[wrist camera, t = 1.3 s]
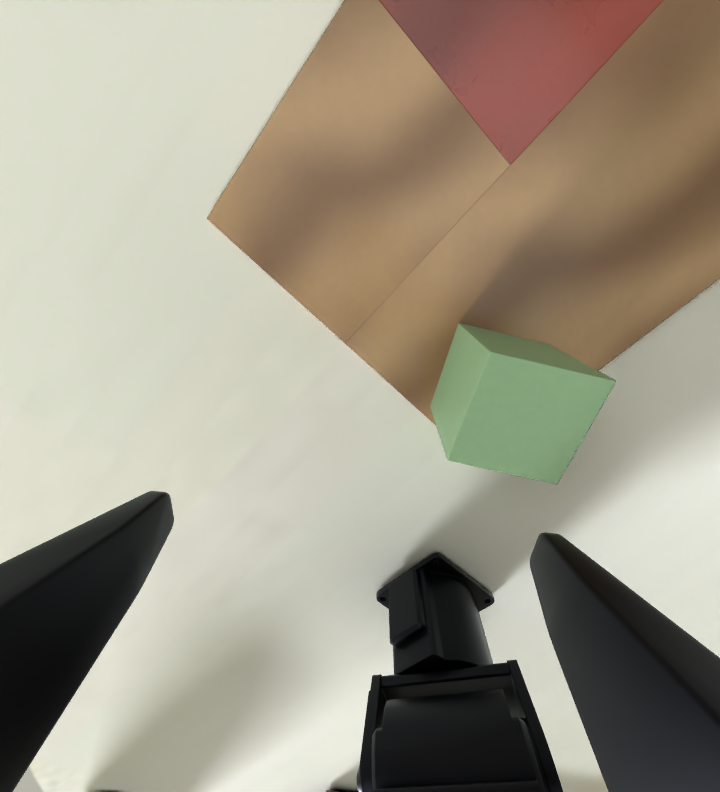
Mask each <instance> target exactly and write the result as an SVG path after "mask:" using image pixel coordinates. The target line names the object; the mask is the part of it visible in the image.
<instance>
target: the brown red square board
mask: <svg viewBox="0 0 720 792" xmlns="http://www.w3.org/2000/svg"><path fill="white" fill-rule="evenodd" d="M207 219H208V220H209V221H210V222H211V223H212V224H214V225H215V226H216V227H217V228H218V229H219V230H220V231H221V232H222V233H223V234H225V235H226V236H227V237H228V238H229V239H230V240H231V241H232V242H233V243H235V244H236V245H237V246H238V247H239V248H240V249H241V250H242V251H243V252H245V253H246V254H247V255H248V256H249V257H250V258H251V259H252V260H253V261H254V262H256V263H257V264H258V265H259V266H260V267H261V268H262V269H263V270H264V271H266V272H267V273H268V274H269V275H270V276H271V277H272V278H273V279H274V280H276V281H277V282H278V283H279V284H280V285H281V286H282V287H283V288H284V289H285V290H287V291H288V292H289V293H290V294H291V295H292V296H293V297H294V298H295V299H297V300H298V301H299V302H300V303H301V304H302V305H303V306H304V307H305V308H307V309H308V310H309V311H310V312H311V313H312V314H313V315H314V316H315V317H316V318H318V319H319V320H320V321H321V322H322V323H323V324H324V325H325V326H326V327H328V328H329V329H330V330H331V331H332V332H333V333H334V334H335V335H336V336H338V337H339V338H340V339H341V340H342V341H343V342H344V343H345V344H346V345H348V346H349V347H350V348H351V349H352V350H353V351H354V352H355V353H356V354H357V355H359V356H360V357H361V358H362V359H363V360H364V361H365V362H366V363H367V364H369V365H370V366H371V367H372V368H373V369H374V370H375V371H376V372H377V373H379V374H380V375H381V376H382V377H383V378H384V379H385V380H386V381H387V382H388V383H390V384H391V385H392V386H393V387H394V388H395V389H396V390H397V391H398V392H400V393H401V394H402V395H403V396H404V397H405V398H406V399H407V400H408V401H410V402H411V403H412V404H413V405H414V406H415V407H416V408H417V409H418V410H419V411H421V412H422V413H423V414H424V415H425V416H426V417H427V418H428V419H429V420H431V421H432V422H433V423H434V424H435V425H436V423H435V420H434V417H433V414H432V411H431V408H430V405H431V402H432V399H433V396H434V393H435V391H436V388H437V385H438V382H439V379H440V376H441V373H442V370H443V367H444V364H445V361H446V358H447V355H448V352H449V349H450V346H451V344H452V341H453V338H454V335H455V332H456V329H457V326H458V323H461V324H466V325H470V326H474V327H478V328H483V329H487V330H491V331H495V332H499V333H504V334H508V335H512V336H516V337H520V338H525V339H529V340H533V341H537V342H541V343H546V344H549V345H551V346H553V347H555V348H557V349H559V350H560V351H562V352H564V353H566V354H568V355H570V356H571V357H573V358H575V359H577V360H579V361H581V362H582V363H584V364H586V365H588V366H590V367H592V368H593V369H595V370H597V371H598V370H600V369H601V368H602V367H604V366H605V365H606V364H608V363H609V362H610V361H611V360H613V359H614V358H615V357H617V356H618V355H619V354H621V353H622V352H623V351H625V350H626V349H627V348H629V347H630V346H631V345H633V344H634V343H635V342H636V341H638V340H639V339H640V338H642V337H643V336H644V335H646V334H647V333H648V332H650V331H651V330H652V329H654V328H655V327H656V326H658V325H659V324H660V323H662V322H663V321H664V320H665V319H667V318H668V317H669V316H671V315H672V314H673V313H675V312H676V311H677V310H679V309H680V308H681V307H683V306H684V305H685V304H687V303H688V302H689V301H690V300H692V299H693V298H694V297H696V296H697V295H698V294H700V293H701V292H702V291H704V290H705V289H706V288H708V287H709V286H710V285H712V284H713V283H714V282H716V281H717V280H718V279H719V278H720V0H345V1H344V2H343V4H342V6H341V7H340V9H339V10H338V12H337V13H336V15H335V17H334V18H333V20H332V21H331V23H330V24H329V26H328V28H327V29H326V31H325V32H324V34H323V36H322V37H321V39H320V40H319V42H318V43H317V45H316V47H315V48H314V50H313V51H312V53H311V54H310V56H309V58H308V59H307V61H306V62H305V64H304V66H303V67H302V69H301V70H300V72H299V73H298V75H297V77H296V78H295V80H294V81H293V83H292V84H291V86H290V88H289V89H288V91H287V92H286V94H285V96H284V97H283V99H282V100H281V102H280V103H279V105H278V107H277V108H276V110H275V111H274V113H273V115H272V116H271V118H270V119H269V121H268V122H267V124H266V126H265V127H264V129H263V130H262V132H261V133H260V135H259V137H258V138H257V140H256V141H255V143H254V145H253V146H252V148H251V149H250V151H249V152H248V154H247V156H246V157H245V159H244V160H243V162H242V163H241V165H240V167H239V168H238V170H237V171H236V173H235V175H234V176H233V178H232V179H231V181H230V182H229V184H228V186H227V187H226V189H225V190H224V192H223V193H222V195H221V197H220V198H219V200H218V201H217V203H216V205H215V206H214V208H213V209H212V211H211V212H210V214H209V216H208V217H207Z"/></svg>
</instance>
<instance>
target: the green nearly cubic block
mask: <svg viewBox="0 0 720 792" xmlns="http://www.w3.org/2000/svg"><path fill="white" fill-rule="evenodd" d="M615 382H616V381H615V380H614V379H612V378H610V377H608V376H606V375H604V374H603V373H601V372H599V371H597V370H595V369H593V368H592V367H590V366H588V365H586V364H584V363H582V362H581V361H579V360H577V359H575V358H573V357H571V356H570V355H568V354H566V353H564V352H562V351H560V350H559V349H557V348H555V347H553V346H551V345H549V344H546V343H541V342H537V341H533V340H529V339H525V338H520V337H516V336H512V335H508V334H504V333H499V332H495V331H491V330H487V329H483V328H478V327H474V326H470V325H466V324H461V323H458V326H457V329H456V332H455V335H454V338H453V341H452V344H451V346H450V349H449V352H448V355H447V358H446V361H445V364H444V367H443V370H442V373H441V376H440V379H439V382H438V385H437V388H436V391H435V393H434V396H433V399H432V402H431V405H430V408H431V411H432V414H433V417H434V420H435V423H436V426H437V429H438V432H439V436H440V439H441V442H442V445H443V448H444V451H445V454H446V457H447V460H449V461H453V462H458V463H462V464H467V465H471V466H476V467H481V468H485V469H490V470H494V471H499V472H503V473H508V474H512V475H517V476H521V477H526V478H530V479H535V480H539V481H544V482H548V483H553V484H558V482H559V480H560V479H561V477H562V475H563V473H564V472H565V470H566V468H567V466H568V465H569V463H570V461H571V459H572V458H573V456H574V454H575V452H576V451H577V449H578V447H579V445H580V443H581V442H582V440H583V438H584V436H585V435H586V433H587V431H588V429H589V428H590V426H591V424H592V422H593V421H594V419H595V417H596V415H597V414H598V412H599V410H600V408H601V407H602V405H603V403H604V401H605V400H606V398H607V396H608V394H609V393H610V391H611V389H612V387H613V386H614V384H615Z"/></svg>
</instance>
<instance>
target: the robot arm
mask: <svg viewBox="0 0 720 792" xmlns="http://www.w3.org/2000/svg"><path fill="white" fill-rule="evenodd" d="M173 523H174V516H173V510H172V504H171V498H170V495H169V494H168V493H166V492H158V491H150V492H147V493H145V494H143V495H141V496H139V497H137V498H135V499H133V500H131V501H129V502H127V503H125V504H123V505H120V506H118V507H116V508H114V509H112V510H110V511H108V512H106V513H104V514H102V515H100V516H98V517H96V518H94V519H92V520H90V521H88V522H86V523H84V524H82V525H79V526H77V527H75V528H73V529H71V530H69V531H67V532H65V533H63V534H61V535H59V536H57V537H55V538H53V539H51V540H49V541H47V542H45V543H43V544H40V545H38V546H36V547H34V548H32V549H30V550H28V551H26V552H24V553H22V554H20V555H18V556H16V557H14V558H12V559H10V560H8V561H6V562H4V563H1V564H0V792H13V790H14V789H15V787H16V786H17V784H18V782H19V781H20V779H21V778H22V776H23V775H24V773H25V771H26V770H27V768H28V767H29V765H30V764H31V762H32V760H33V759H34V757H35V756H36V754H37V752H38V751H39V749H40V748H41V746H42V745H43V743H44V741H45V740H46V738H47V737H48V735H49V734H50V732H51V730H52V729H53V727H54V726H55V724H56V722H57V721H58V719H59V718H60V716H61V715H62V713H63V711H64V710H65V708H66V707H67V705H68V704H69V702H70V700H71V699H72V697H73V696H74V694H75V692H76V691H77V689H78V688H79V686H80V685H81V683H82V681H83V680H84V678H85V677H86V675H87V674H88V672H89V670H90V669H91V667H92V666H93V664H94V663H95V661H96V659H97V658H98V656H99V655H100V653H101V651H102V650H103V648H104V647H105V645H106V644H107V642H108V640H109V639H110V637H111V636H112V634H113V633H114V631H115V629H116V628H117V626H118V625H119V623H120V621H121V620H122V618H123V617H124V615H125V614H126V612H127V610H128V609H129V607H130V606H131V604H132V603H133V601H134V599H135V598H136V596H137V594H138V593H139V591H140V589H141V587H142V586H143V584H144V582H145V580H146V578H147V576H148V574H149V572H150V570H151V568H152V566H153V564H154V563H155V561H156V559H157V557H158V555H159V553H160V551H161V549H162V547H163V545H164V543H165V541H166V539H167V537H168V535H169V533H170V531H171V529H172V526H173ZM530 567H531V571H532V575H533V579H534V582H535V586H536V589H537V593H538V597H539V600H540V604H541V607H542V611H543V615H544V618H545V622H546V625H547V629H548V632H549V635H550V638H551V641H552V644H553V647H554V649H555V652H556V655H557V657H558V660H559V662H560V665H561V668H562V670H563V673H564V676H565V678H566V681H567V683H568V686H569V689H570V691H571V694H572V697H573V699H574V702H575V704H576V707H577V710H578V712H579V715H580V718H581V720H582V723H583V726H584V728H585V731H586V733H587V736H588V739H589V741H590V744H591V747H592V749H593V752H594V754H595V757H596V760H597V762H598V765H599V768H600V770H601V773H602V775H603V778H604V781H605V783H606V786H607V789H608V791H609V792H720V658H719V657H718V656H717V655H715V654H714V653H713V652H711V651H710V650H709V649H707V648H706V647H705V646H704V645H702V644H701V643H700V642H698V641H697V640H696V639H695V638H693V637H692V636H691V635H689V634H688V633H687V632H685V631H684V630H683V629H682V628H680V627H679V626H678V625H676V624H675V623H674V622H673V621H671V620H670V619H669V618H667V617H666V616H665V615H663V614H662V613H661V612H660V611H658V610H657V609H656V608H654V607H653V606H652V605H651V604H649V603H648V602H647V601H645V600H644V599H643V598H641V597H640V596H639V595H638V594H636V593H635V592H634V591H632V590H631V589H630V588H629V587H627V586H626V585H625V584H623V583H622V582H621V581H619V580H618V579H617V578H616V577H614V576H613V575H612V574H610V573H609V572H608V571H606V570H605V569H604V568H603V567H601V566H600V565H599V564H597V563H596V562H595V561H594V560H592V559H591V558H590V557H588V556H587V555H586V554H584V553H583V552H582V551H581V550H579V549H578V548H577V547H575V546H574V545H573V544H572V543H570V542H569V541H568V540H566V539H565V538H564V537H562V536H561V535H559V534H553V533H541V534H540V535H539V536H538V538H537V541H536V544H535V546H534V549H533V552H532V554H531V557H530ZM377 601H378V602H380V603H381V604H382V605H384V606H385V607H387V608H388V609H389V627H390V643H391V644H392V645H393V657H394V675H389V676H382V675H373V676H372V683H371V690H370V691H369V695H368V703H367V711H366V719H365V727H364V735H363V743H362V751H361V758H360V766H359V769H358V773H357V790H358V792H563V790H562V787H561V783H560V780H559V777H558V774H557V771H556V768H555V764H554V761H553V758H552V755H551V752H550V750H549V747H548V744H547V741H546V738H545V735H544V733H543V730H542V727H541V725H540V722H539V719H538V717H537V714H536V711H535V708H534V706H533V703H532V700H531V698H530V695H529V692H528V690H527V687H526V684H525V682H524V679H523V676H522V674H521V671H520V668H519V666H518V663H517V660H509V661H507V663H499V664H493V662H492V658H491V655H490V651H489V647H488V644H487V640H486V636H485V633H484V629H483V626H482V622H481V618H480V615H479V612H480V611H481V610H483V609H485V608H487V607H488V606H490V605H492V604H493V603H494V597H493V594H492V593H491V592H489V591H488V590H487V589H486V588H484V587H483V586H482V585H480V584H479V583H478V582H477V581H475V580H474V579H473V578H471V577H470V576H469V575H468V574H466V573H465V572H464V571H462V570H461V569H460V568H459V567H457V566H456V565H455V564H453V563H452V562H451V561H450V560H448V559H447V558H446V557H444V556H443V555H442V554H440V553H433V554H431V555H430V556H428V557H427V558H425V559H424V560H422V561H421V562H420V563H418V564H417V565H415V566H414V567H412V568H411V569H409V570H408V571H406V572H405V573H404V574H402V575H401V576H399V577H398V578H396V579H395V580H393V581H392V582H390V583H389V584H387V585H386V586H385V587H383V588H382V589H380V590H379V591H378V592H377Z"/></svg>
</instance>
